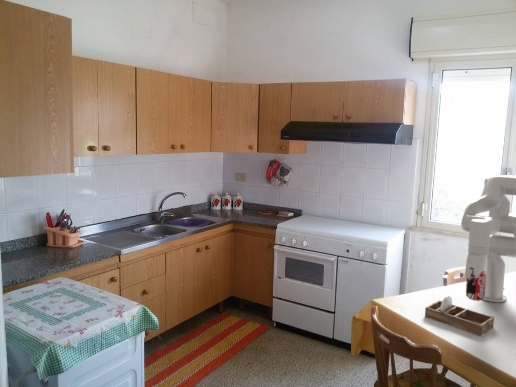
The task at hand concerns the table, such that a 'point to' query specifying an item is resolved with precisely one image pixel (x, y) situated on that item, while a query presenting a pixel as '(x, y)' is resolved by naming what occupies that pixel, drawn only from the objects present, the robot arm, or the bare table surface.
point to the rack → (461, 318)
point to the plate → (446, 304)
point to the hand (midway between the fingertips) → (475, 290)
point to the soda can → (478, 288)
